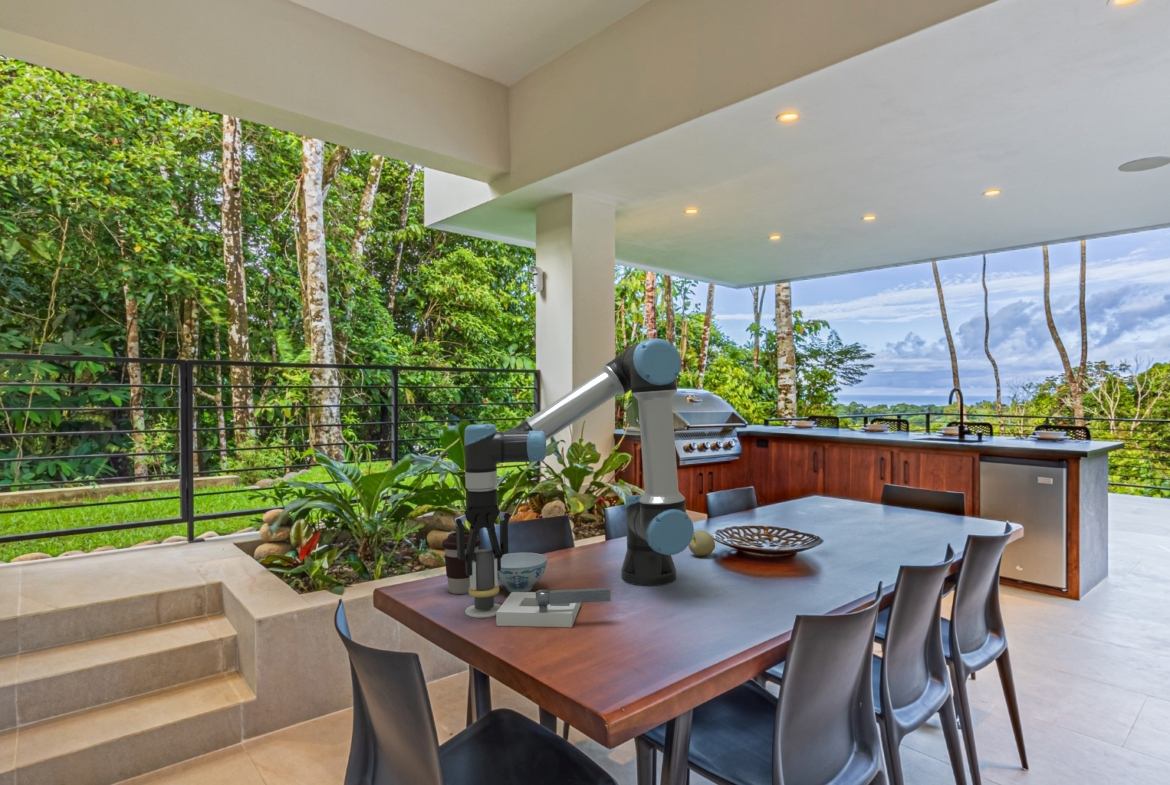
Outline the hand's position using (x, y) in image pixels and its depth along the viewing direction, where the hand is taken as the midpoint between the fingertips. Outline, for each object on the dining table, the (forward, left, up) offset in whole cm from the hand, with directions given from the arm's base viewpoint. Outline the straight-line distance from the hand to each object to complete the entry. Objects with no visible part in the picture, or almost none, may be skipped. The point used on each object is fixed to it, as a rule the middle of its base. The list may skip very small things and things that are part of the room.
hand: (483, 586), depth 143 cm
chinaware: (-5, -17, -6) cm, 19 cm away
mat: (0, 0, -6) cm, 6 cm away
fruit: (-55, -51, -6) cm, 75 cm away
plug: (0, 0, -5) cm, 5 cm away
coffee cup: (+10, -15, -6) cm, 19 cm away
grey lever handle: (-23, +7, -1) cm, 24 cm away
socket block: (-14, +2, -6) cm, 15 cm away
